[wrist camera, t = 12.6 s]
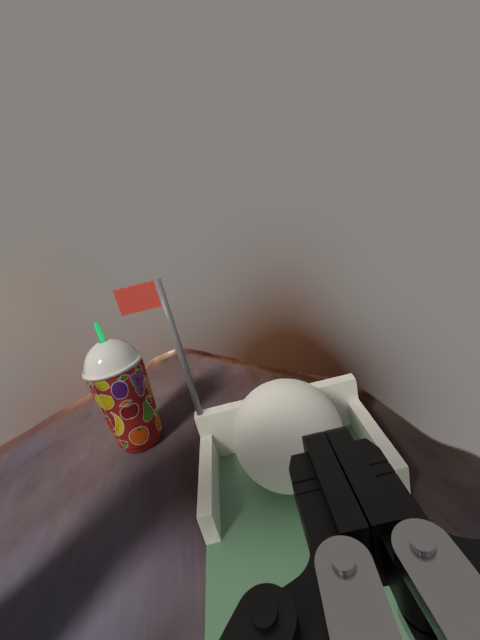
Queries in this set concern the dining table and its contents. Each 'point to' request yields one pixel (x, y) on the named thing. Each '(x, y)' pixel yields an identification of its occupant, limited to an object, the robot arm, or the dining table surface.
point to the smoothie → (122, 392)
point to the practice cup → (251, 489)
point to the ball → (279, 429)
